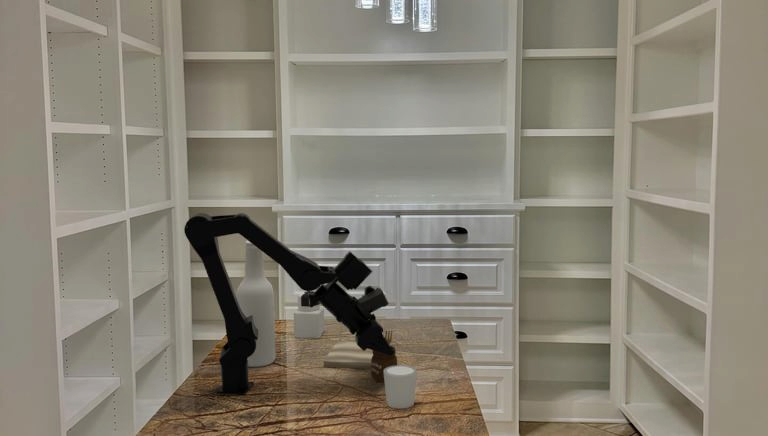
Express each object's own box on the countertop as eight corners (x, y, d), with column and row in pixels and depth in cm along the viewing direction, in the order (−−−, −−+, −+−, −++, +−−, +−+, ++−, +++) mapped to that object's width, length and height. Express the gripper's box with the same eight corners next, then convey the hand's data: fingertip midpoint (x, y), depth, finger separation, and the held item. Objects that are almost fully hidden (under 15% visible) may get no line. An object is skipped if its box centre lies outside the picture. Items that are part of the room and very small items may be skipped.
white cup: (397, 394, 142) (397, 362, 142) (423, 401, 138) (423, 369, 137) (376, 404, 137) (376, 371, 136) (403, 412, 133) (403, 378, 132)
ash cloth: (381, 369, 158) (381, 363, 158) (323, 367, 160) (323, 361, 160) (390, 348, 174) (390, 342, 174) (337, 346, 176) (337, 341, 175)
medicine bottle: (324, 331, 190) (323, 289, 189) (319, 338, 183) (318, 295, 182) (299, 330, 191) (298, 289, 189) (294, 338, 184) (292, 295, 182)
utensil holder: (391, 372, 156) (391, 321, 154) (402, 381, 150) (401, 329, 149) (367, 375, 154) (366, 324, 152) (377, 385, 148) (376, 332, 146)
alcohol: (239, 369, 159) (234, 244, 156) (239, 357, 168) (235, 238, 164) (276, 366, 161) (272, 242, 157) (275, 355, 169) (271, 237, 166)
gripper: (372, 287, 139) (424, 335, 143) (359, 270, 158) (406, 313, 161) (335, 326, 139) (388, 373, 142) (327, 304, 157) (374, 347, 160)
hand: (390, 349), depth 151 cm, fingers closed on utensil holder, 6 cm apart
